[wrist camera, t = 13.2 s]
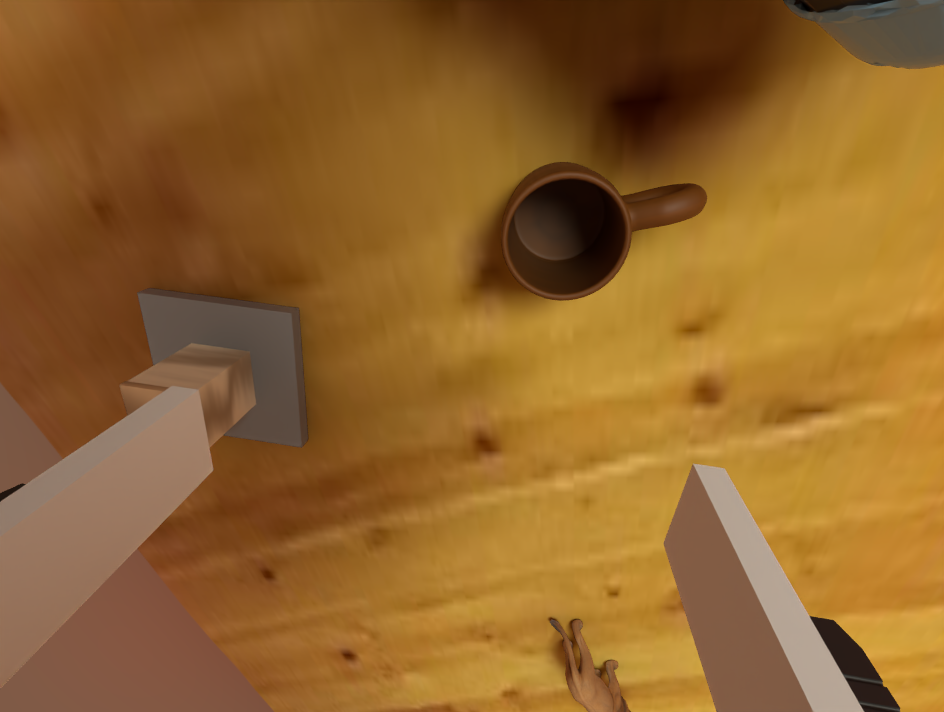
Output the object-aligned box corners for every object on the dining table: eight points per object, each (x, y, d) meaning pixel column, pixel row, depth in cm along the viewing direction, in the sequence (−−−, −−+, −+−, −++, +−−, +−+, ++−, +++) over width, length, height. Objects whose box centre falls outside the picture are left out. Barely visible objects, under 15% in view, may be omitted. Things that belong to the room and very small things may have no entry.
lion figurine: (647, 676, 56) (666, 767, 47) (611, 690, 58) (623, 781, 49) (567, 606, 52) (573, 692, 44) (531, 624, 54) (531, 709, 46)
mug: (666, 127, 32) (714, 122, 23) (678, 237, 35) (725, 268, 26) (496, 178, 34) (483, 190, 26) (520, 276, 37) (516, 315, 29)
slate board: (149, 287, 42) (137, 292, 41) (298, 308, 41) (291, 313, 40) (177, 418, 48) (167, 426, 47) (308, 439, 47) (302, 447, 46)
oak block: (190, 342, 42) (119, 384, 35) (250, 351, 42) (190, 395, 34) (200, 396, 44) (135, 445, 37) (256, 404, 44) (201, 456, 37)
